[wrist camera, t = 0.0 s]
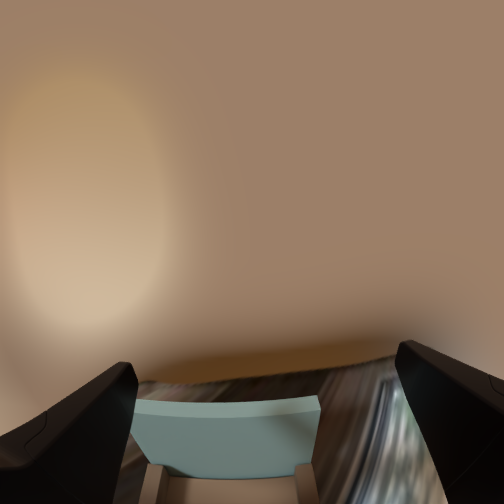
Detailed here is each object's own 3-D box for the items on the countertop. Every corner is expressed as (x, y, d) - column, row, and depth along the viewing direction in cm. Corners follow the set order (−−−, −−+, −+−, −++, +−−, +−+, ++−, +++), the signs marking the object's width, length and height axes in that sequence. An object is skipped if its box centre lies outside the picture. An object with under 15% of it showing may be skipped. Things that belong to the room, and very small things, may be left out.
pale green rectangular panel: (308, 473, 16) (320, 409, 13) (159, 474, 16) (117, 410, 13) (306, 462, 17) (316, 395, 14) (161, 463, 17) (123, 397, 14)
